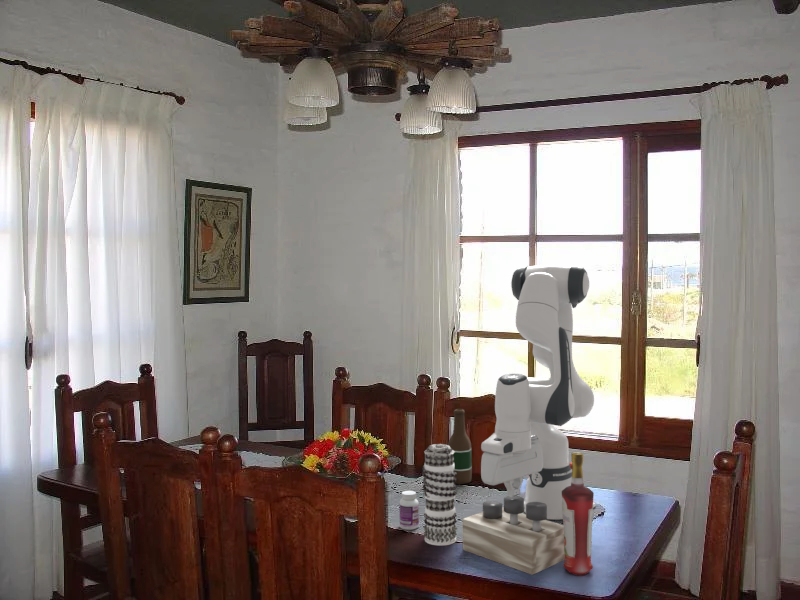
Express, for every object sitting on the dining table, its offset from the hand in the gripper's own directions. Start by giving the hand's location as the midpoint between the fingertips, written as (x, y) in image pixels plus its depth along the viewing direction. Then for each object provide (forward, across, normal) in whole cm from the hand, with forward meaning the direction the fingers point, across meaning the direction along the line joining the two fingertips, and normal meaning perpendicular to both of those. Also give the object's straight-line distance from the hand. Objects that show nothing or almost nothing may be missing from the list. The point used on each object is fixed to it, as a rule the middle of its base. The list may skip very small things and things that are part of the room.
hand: (513, 495), depth 192 cm
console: (+15, 0, 0) cm, 15 cm away
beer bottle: (+14, -37, -53) cm, 67 cm away
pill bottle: (+15, +5, -33) cm, 37 cm away
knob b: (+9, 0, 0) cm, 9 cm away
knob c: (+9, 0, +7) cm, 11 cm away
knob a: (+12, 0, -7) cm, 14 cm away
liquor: (+15, -3, +17) cm, 23 cm away
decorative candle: (+15, +6, -20) cm, 26 cm away
